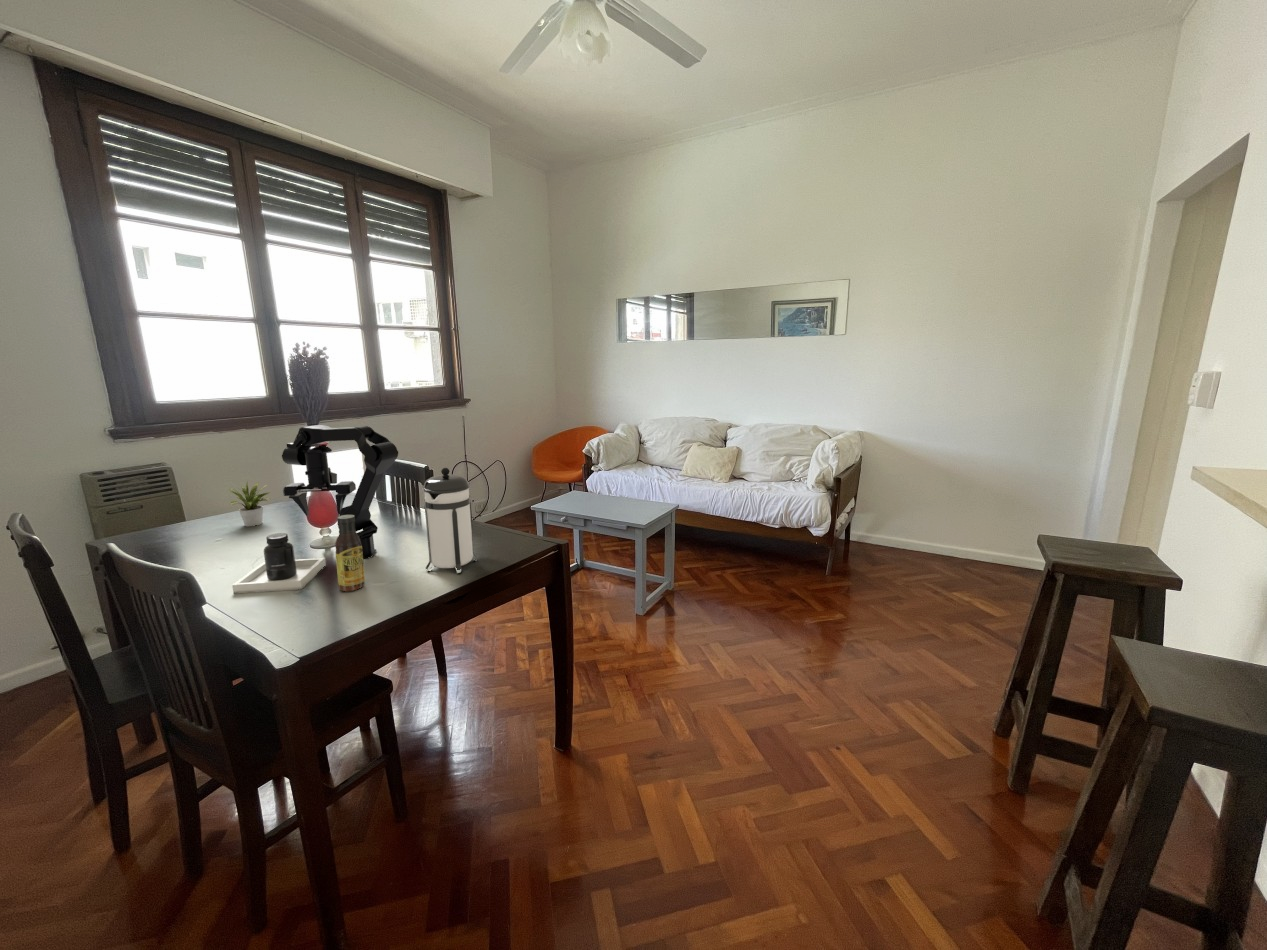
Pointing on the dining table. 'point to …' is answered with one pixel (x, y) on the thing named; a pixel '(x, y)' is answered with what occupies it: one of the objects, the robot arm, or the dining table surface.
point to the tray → (261, 583)
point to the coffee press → (448, 520)
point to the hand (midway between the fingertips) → (323, 514)
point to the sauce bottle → (349, 555)
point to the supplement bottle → (279, 557)
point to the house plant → (251, 505)
